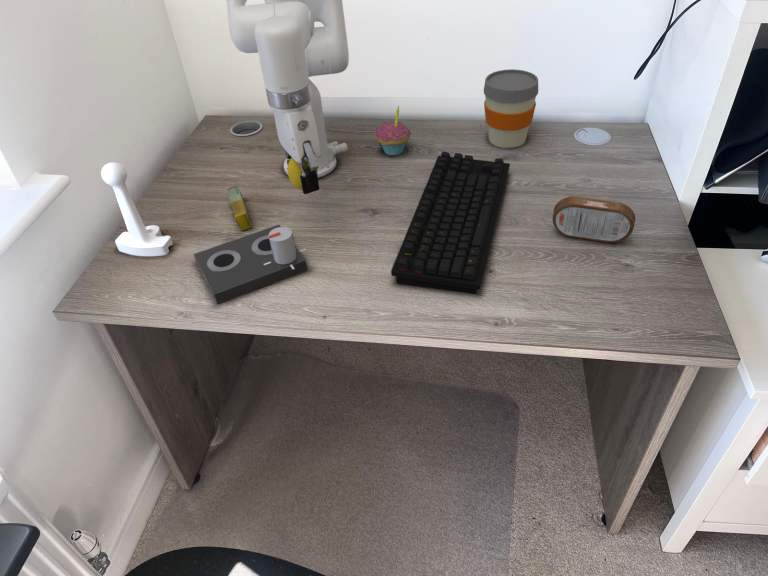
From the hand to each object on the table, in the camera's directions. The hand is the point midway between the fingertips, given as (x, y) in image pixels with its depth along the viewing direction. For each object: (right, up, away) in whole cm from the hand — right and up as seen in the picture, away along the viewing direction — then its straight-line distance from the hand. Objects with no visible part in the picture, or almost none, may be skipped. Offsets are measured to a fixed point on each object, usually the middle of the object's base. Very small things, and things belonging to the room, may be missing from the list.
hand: (304, 183), depth 118 cm
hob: (-11, -16, +2) cm, 19 cm away
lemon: (0, -1, +1) cm, 2 cm away
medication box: (-16, -5, +16) cm, 23 cm away
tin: (+55, -10, +2) cm, 56 cm away
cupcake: (+18, +13, +33) cm, 40 cm away
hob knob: (-4, -14, 0) cm, 15 cm away
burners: (-12, -13, +1) cm, 18 cm away
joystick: (-34, -11, +10) cm, 37 cm away
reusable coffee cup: (+46, +16, +34) cm, 59 cm away
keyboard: (+30, -7, +9) cm, 32 cm away
